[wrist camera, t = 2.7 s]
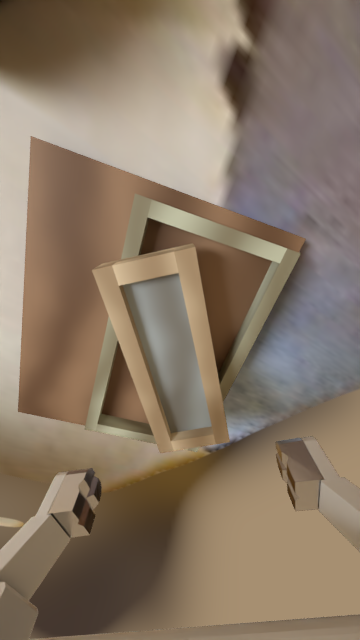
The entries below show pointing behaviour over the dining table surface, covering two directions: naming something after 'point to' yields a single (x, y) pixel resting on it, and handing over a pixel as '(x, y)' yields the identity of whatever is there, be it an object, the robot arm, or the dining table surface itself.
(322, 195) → the dining table surface
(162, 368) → the frame
